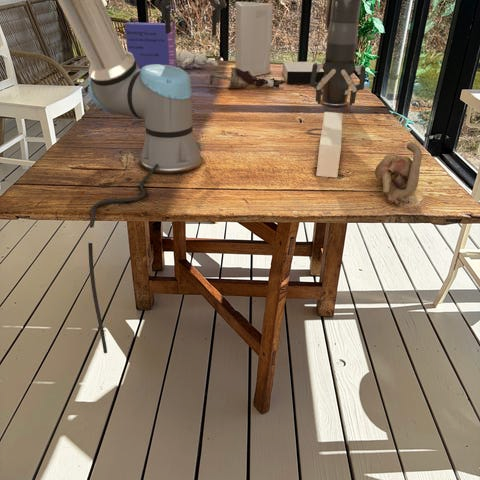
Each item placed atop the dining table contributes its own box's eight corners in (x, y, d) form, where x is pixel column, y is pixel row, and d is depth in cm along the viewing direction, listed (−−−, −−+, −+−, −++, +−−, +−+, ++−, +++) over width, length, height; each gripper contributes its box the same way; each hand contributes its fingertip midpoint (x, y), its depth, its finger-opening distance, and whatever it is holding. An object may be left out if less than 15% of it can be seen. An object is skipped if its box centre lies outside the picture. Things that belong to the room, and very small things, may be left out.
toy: (173, 75, 210) (172, 58, 207) (149, 64, 228) (148, 49, 224) (220, 69, 222) (220, 53, 218) (194, 59, 239) (193, 45, 236)
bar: (337, 177, 117) (341, 145, 112) (316, 175, 117) (319, 144, 113) (339, 140, 140) (342, 113, 136) (321, 139, 141) (324, 111, 137)
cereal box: (177, 88, 189) (174, 22, 177) (175, 91, 185) (172, 24, 173) (134, 87, 190) (128, 21, 178) (131, 90, 186) (124, 23, 174)
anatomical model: (387, 195, 117) (397, 211, 103) (362, 171, 116) (368, 184, 102) (428, 158, 112) (444, 169, 98) (402, 132, 112) (415, 140, 97)
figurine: (210, 87, 179) (288, 95, 182) (212, 65, 176) (291, 73, 180) (208, 84, 201) (278, 91, 205) (210, 64, 198) (280, 71, 202)
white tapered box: (273, 76, 210) (276, 6, 196) (239, 77, 209) (240, 6, 194) (266, 67, 226) (268, 2, 212) (235, 67, 225) (235, 1, 210)
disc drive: (287, 84, 198) (287, 71, 196) (281, 72, 218) (282, 61, 215) (329, 84, 199) (330, 72, 196) (320, 72, 218) (321, 61, 216)
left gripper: (237, -51, 129) (235, 34, 139) (148, -53, 132) (153, 30, 142) (233, -52, 122) (231, 37, 133) (139, -54, 125) (145, 33, 136)
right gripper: (369, 40, 125) (360, 102, 133) (314, 37, 127) (309, 99, 135) (370, 44, 118) (361, 109, 127) (313, 41, 120) (307, 106, 129)
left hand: (191, 34), depth 137 cm, fingers open, 13 cm apart
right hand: (334, 104), depth 131 cm, fingers open, 8 cm apart
